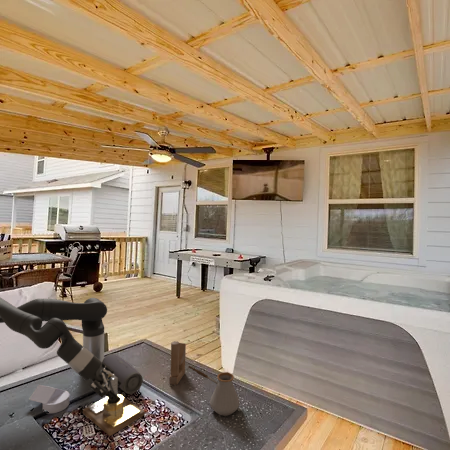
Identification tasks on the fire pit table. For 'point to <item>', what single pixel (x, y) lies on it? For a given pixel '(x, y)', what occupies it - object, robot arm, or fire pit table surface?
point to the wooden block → (177, 362)
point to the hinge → (114, 411)
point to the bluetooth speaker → (124, 373)
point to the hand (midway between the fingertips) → (117, 391)
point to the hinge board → (100, 417)
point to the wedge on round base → (51, 398)
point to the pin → (113, 388)
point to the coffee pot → (222, 393)
